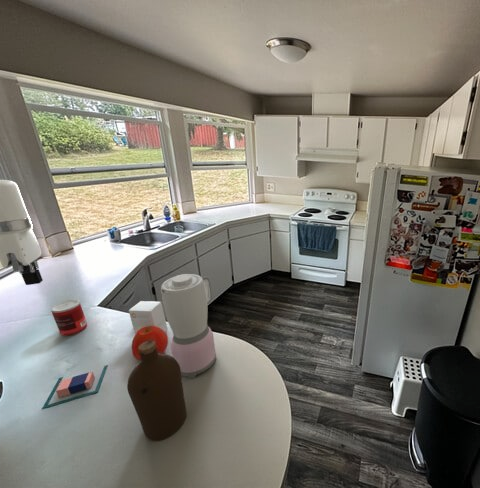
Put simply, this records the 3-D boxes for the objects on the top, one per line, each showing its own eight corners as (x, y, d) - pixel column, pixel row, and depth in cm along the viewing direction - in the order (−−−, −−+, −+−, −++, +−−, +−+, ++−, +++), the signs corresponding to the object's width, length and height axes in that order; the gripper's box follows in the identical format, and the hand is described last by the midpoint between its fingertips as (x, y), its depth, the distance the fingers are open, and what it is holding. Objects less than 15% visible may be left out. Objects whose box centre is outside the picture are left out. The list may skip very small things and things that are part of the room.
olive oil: (194, 423, 65) (179, 346, 56) (146, 454, 58) (120, 372, 50) (182, 395, 72) (167, 324, 64) (138, 420, 65) (114, 343, 57)
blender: (195, 384, 76) (177, 292, 65) (166, 371, 80) (145, 283, 69) (231, 349, 90) (222, 269, 79) (205, 340, 94) (193, 262, 83)
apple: (172, 340, 93) (167, 317, 89) (165, 361, 84) (159, 335, 80) (140, 346, 90) (133, 321, 86) (129, 368, 80) (121, 342, 77)
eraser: (58, 398, 70) (55, 391, 69) (64, 386, 73) (61, 379, 73) (91, 388, 73) (88, 381, 72) (95, 377, 77) (92, 371, 76)
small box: (168, 329, 98) (161, 301, 94) (157, 341, 92) (150, 311, 88) (147, 329, 98) (140, 300, 94) (135, 340, 92) (127, 310, 88)
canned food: (84, 320, 102) (76, 297, 98) (90, 328, 97) (82, 304, 94) (58, 330, 96) (48, 305, 92) (63, 339, 91) (53, 313, 88)
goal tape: (42, 409, 67) (41, 408, 67) (59, 378, 76) (59, 378, 76) (97, 392, 72) (97, 391, 72) (107, 365, 81) (107, 365, 81)
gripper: (7, 220, 75) (30, 275, 81) (-28, 234, 62) (1, 297, 68) (42, 218, 78) (61, 271, 84) (15, 231, 66) (39, 292, 72)
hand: (34, 282), depth 76 cm, fingers closed
